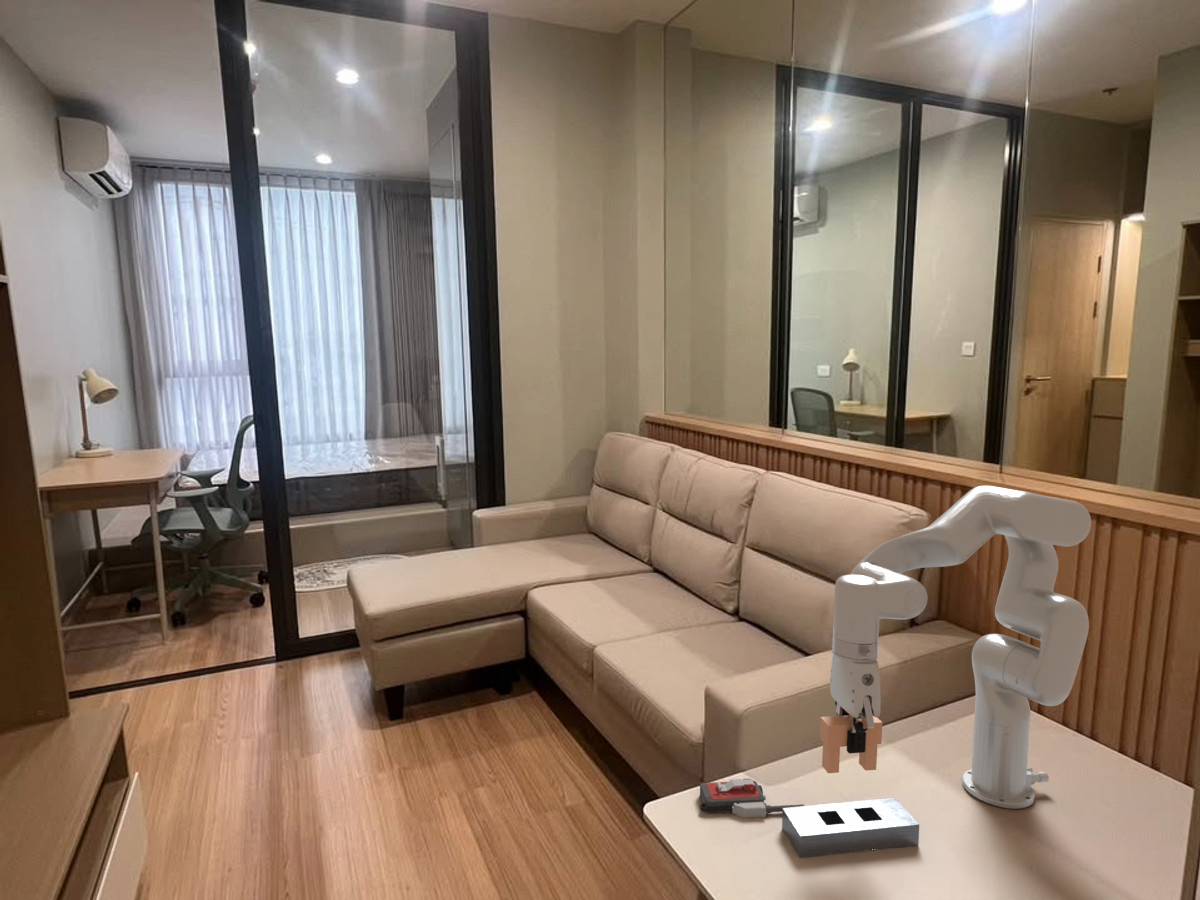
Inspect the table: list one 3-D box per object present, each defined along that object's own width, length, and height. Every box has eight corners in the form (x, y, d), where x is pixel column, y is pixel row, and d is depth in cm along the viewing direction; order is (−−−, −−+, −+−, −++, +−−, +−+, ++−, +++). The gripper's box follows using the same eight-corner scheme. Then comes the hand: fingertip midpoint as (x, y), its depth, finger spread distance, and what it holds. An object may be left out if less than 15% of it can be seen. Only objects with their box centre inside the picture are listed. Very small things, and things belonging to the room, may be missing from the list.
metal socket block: (893, 817, 134) (894, 797, 134) (918, 845, 126) (919, 824, 126) (782, 828, 131) (782, 808, 131) (799, 857, 124) (800, 836, 123)
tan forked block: (870, 761, 130) (873, 713, 129) (879, 770, 126) (882, 722, 125) (818, 764, 128) (820, 717, 127) (826, 774, 125) (828, 725, 124)
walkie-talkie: (702, 823, 134) (807, 817, 135) (703, 801, 133) (807, 795, 135) (693, 795, 143) (791, 790, 144) (693, 774, 142) (791, 769, 144)
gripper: (900, 664, 117) (895, 770, 119) (852, 629, 133) (848, 722, 135) (857, 666, 116) (852, 773, 118) (814, 630, 132) (810, 725, 134)
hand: (850, 745), depth 127 cm, fingers closed on tan forked block, 3 cm apart
